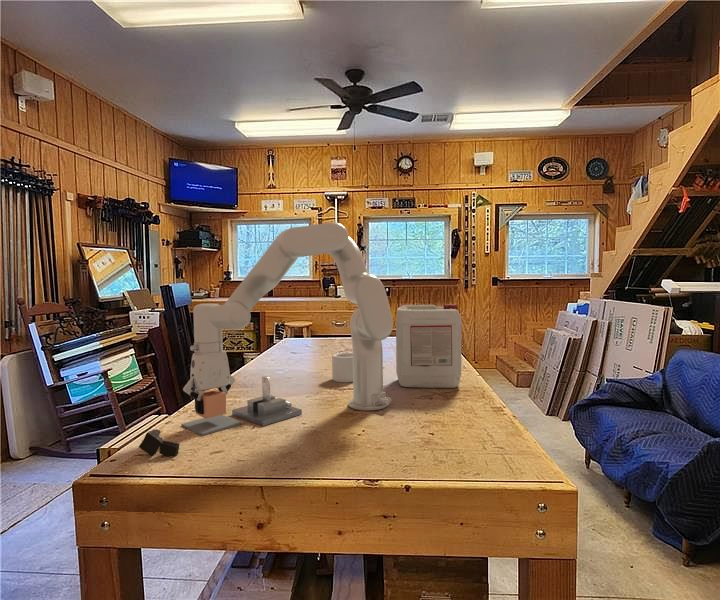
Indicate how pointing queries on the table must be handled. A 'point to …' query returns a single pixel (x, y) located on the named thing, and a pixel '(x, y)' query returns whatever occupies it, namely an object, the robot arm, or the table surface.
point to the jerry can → (428, 346)
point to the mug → (342, 367)
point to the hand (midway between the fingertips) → (211, 410)
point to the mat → (211, 424)
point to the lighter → (158, 444)
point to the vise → (266, 408)
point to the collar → (213, 403)
